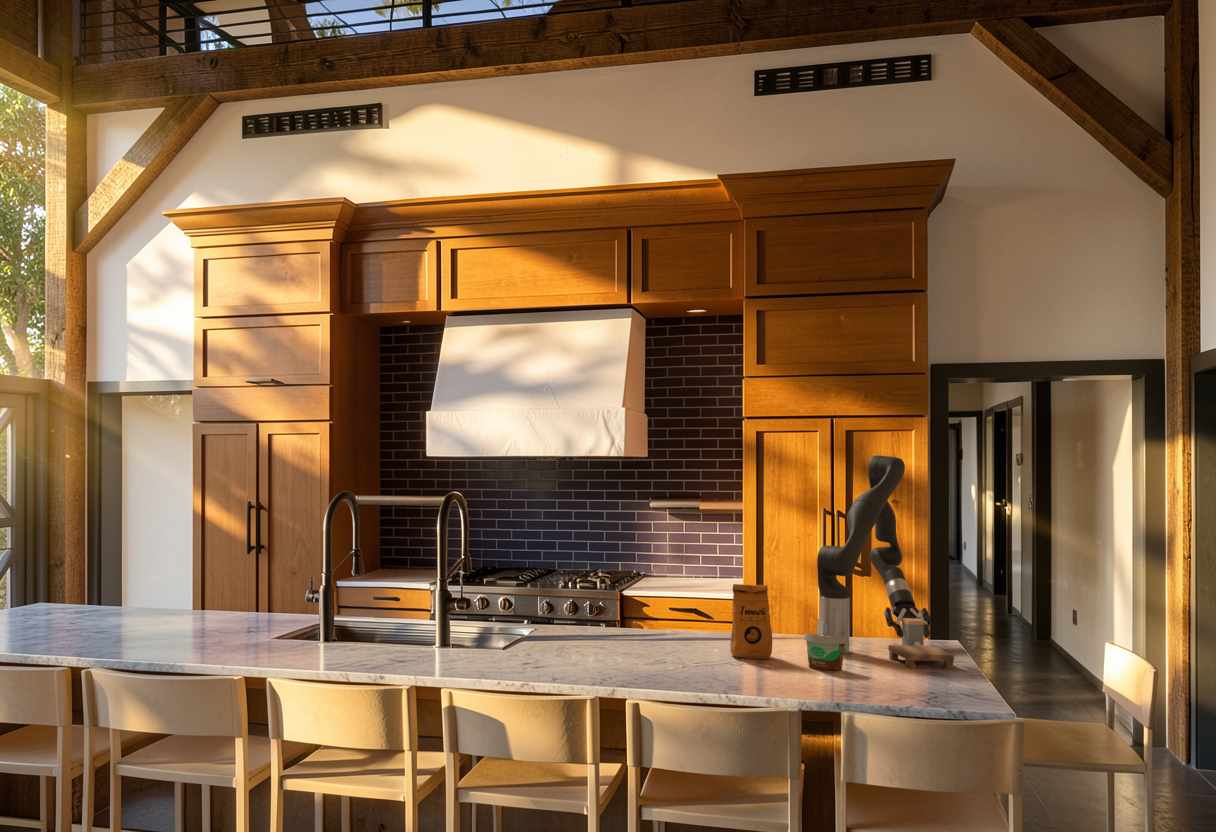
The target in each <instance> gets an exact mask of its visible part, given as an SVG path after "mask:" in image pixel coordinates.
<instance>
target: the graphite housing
mask: <svg viewBox="0 0 1216 832" xmlns="http://www.w3.org/2000/svg"><path fill="white" fill-rule="evenodd" d="M901 628H902V631H903V637H902V638H901V645H921V646H925V643H924V642H925V641H924V640H925V637H924V621H923V620H920V619H918V618H917V617H916V618H902V621H901Z"/></svg>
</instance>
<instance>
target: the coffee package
mask: <svg viewBox="0 0 1216 832" xmlns="http://www.w3.org/2000/svg"><path fill="white" fill-rule="evenodd" d="M768 586H769V585H768V584H741V583H733V584H732V589H731V590H732V593H733V597H732V599H733V600H732V627H731V633H730V634H731V635H730V637H731V638H730V653H731V655H732V656H734V657H736V658H742V659H754V660H770V659H771V658H770V657H771V655H772V653H773V630H772V626H771V616H770V614H771V613H770V604H769V594H768V591H769V589H768V588H769V587H768Z"/></svg>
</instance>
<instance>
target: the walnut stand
mask: <svg viewBox="0 0 1216 832" xmlns="http://www.w3.org/2000/svg"><path fill="white" fill-rule="evenodd" d="M888 651H889V653H888V654H889V655H888V656H889V660H891V661H899V657H901V658H903V659H904V660H905V661H904V662H905V663H904V664H905V665H904V666H905V668H906V669H908V670H910V669H911V670H913V669H914V670H915V668H916V665H915V663H916V662H915V661H943V663H942V664H943V665H942V666H943V669H946V670H954V661H955V655H954V654H952V653H950V652H948V651H946V650H944V649H941V648H939V647H937V646H934V645H924V646H921V645H902V644H901V645H900V644H898V645H897V644H895V645H894V644H893V645H892V644H889V645H888Z"/></svg>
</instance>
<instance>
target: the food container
mask: <svg viewBox="0 0 1216 832" xmlns="http://www.w3.org/2000/svg"><path fill="white" fill-rule="evenodd" d="M803 640H805V642H806V650H807V663H808V668H809V669H811V670H813V671H819V672H827V673H831V672H832V673H833V672H834V673H835V672H840V671H842V670H843V660H844V655H845V654H844V645H845V643H847V639H846V637H845V635H844V636H837V637H833V636H829V635H817V634H812V633H809V632H808V631H807V630H805V633H804V636H803Z"/></svg>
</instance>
